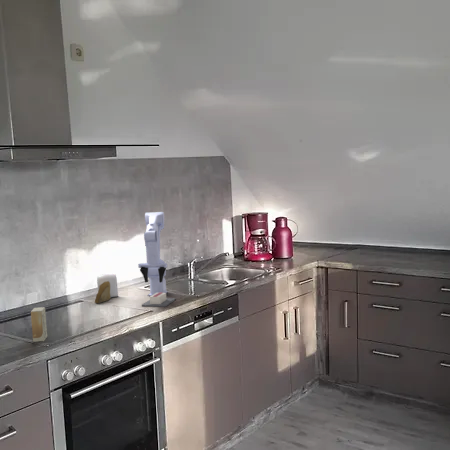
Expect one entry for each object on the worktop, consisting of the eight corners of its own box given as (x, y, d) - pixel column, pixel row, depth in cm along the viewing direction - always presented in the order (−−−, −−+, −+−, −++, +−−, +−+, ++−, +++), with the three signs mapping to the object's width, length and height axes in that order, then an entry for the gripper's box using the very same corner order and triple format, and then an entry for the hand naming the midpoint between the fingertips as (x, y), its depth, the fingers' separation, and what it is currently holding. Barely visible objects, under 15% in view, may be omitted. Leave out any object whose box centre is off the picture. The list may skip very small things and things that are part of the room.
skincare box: (36, 337, 226) (34, 307, 225) (47, 336, 226) (45, 306, 225) (32, 342, 220) (30, 311, 219) (44, 341, 220) (41, 310, 219)
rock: (98, 300, 278) (116, 294, 284) (90, 285, 281) (108, 279, 287) (93, 310, 286) (110, 303, 292) (86, 295, 289) (103, 289, 295)
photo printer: (99, 299, 291) (97, 275, 290) (97, 298, 294) (95, 274, 294) (119, 296, 295) (117, 273, 294) (116, 295, 299) (115, 272, 298)
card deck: (150, 303, 272) (149, 296, 272) (156, 299, 281) (156, 292, 281) (159, 304, 271) (159, 296, 271) (166, 299, 280) (166, 292, 279)
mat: (152, 299, 285) (152, 298, 285) (175, 300, 282) (175, 298, 282) (141, 306, 271) (141, 304, 271) (165, 306, 268) (165, 305, 268)
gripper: (135, 256, 278) (137, 283, 279) (163, 256, 274) (164, 283, 276) (140, 254, 285) (142, 280, 286) (168, 253, 281) (169, 280, 282)
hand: (153, 282), depth 281 cm, fingers open, 7 cm apart
